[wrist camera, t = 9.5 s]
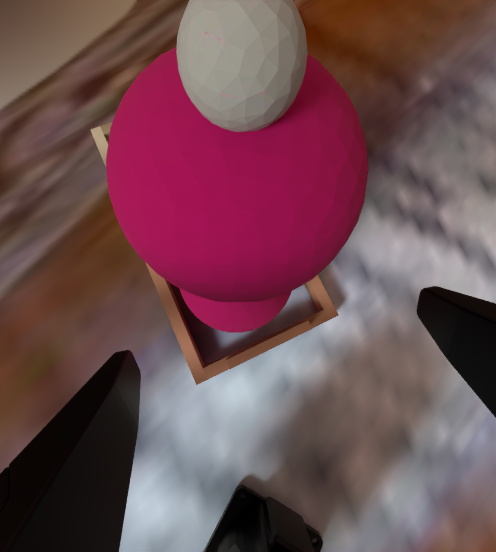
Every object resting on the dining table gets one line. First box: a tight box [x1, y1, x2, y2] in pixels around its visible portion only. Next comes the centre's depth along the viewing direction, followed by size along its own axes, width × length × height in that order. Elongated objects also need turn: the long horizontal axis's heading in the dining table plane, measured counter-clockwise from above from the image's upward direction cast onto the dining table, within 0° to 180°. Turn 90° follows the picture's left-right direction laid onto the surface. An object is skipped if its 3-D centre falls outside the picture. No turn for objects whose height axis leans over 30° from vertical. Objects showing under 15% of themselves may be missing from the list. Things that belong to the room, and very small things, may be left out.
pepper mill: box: [106, 0, 368, 332], centre depth 13 cm, size 7×7×20 cm
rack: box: [91, 122, 338, 385], centre depth 22 cm, size 21×11×3 cm, turn 25°
